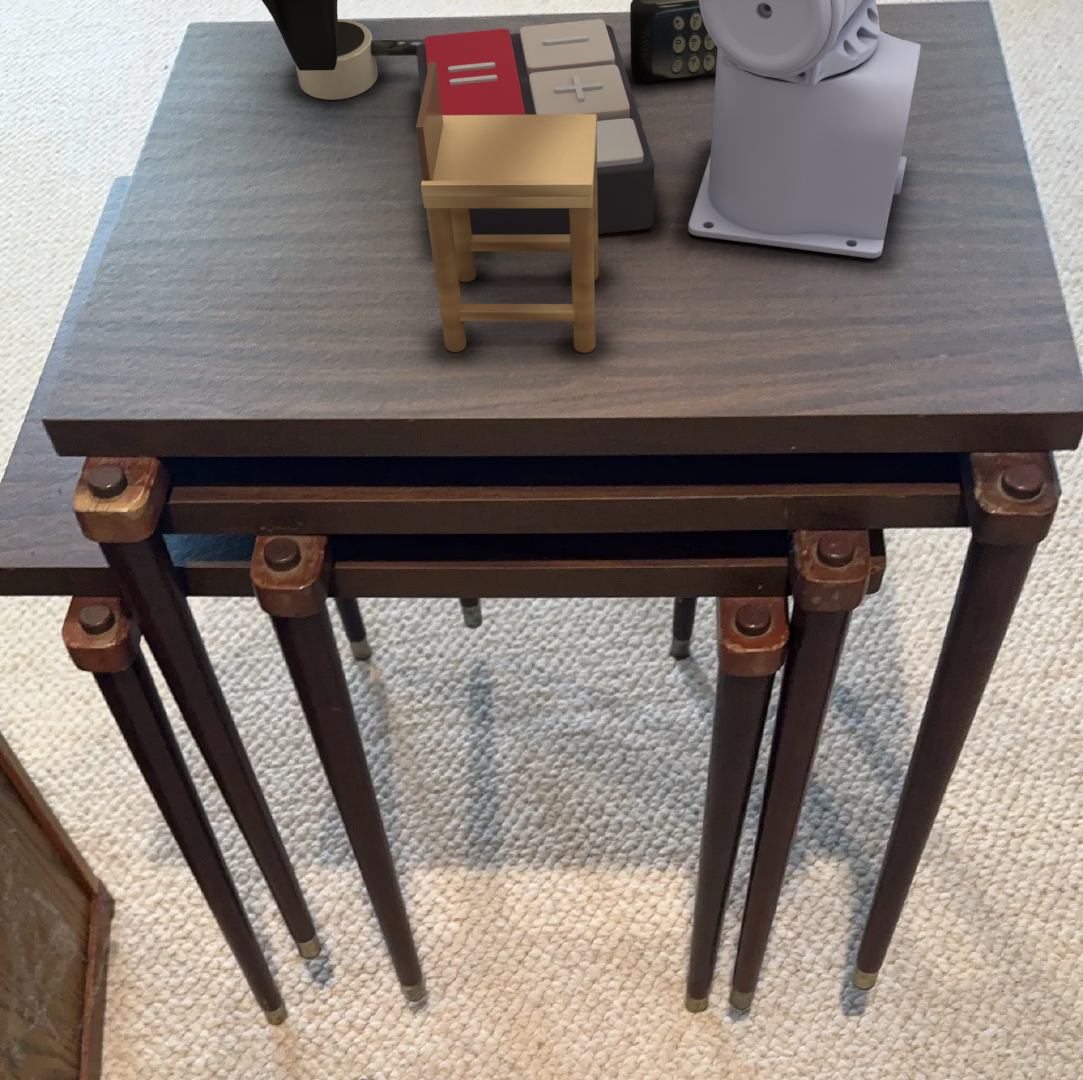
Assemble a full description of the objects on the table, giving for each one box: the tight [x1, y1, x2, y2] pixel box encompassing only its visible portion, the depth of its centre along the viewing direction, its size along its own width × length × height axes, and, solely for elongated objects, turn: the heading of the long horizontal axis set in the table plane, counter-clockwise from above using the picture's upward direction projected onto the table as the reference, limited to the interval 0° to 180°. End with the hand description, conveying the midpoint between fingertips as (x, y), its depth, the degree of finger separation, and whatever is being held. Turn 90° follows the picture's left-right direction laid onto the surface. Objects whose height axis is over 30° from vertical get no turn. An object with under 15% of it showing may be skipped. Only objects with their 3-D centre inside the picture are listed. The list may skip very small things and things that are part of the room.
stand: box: [425, 134, 600, 354], centre depth 58 cm, size 7×6×8 cm
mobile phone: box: [629, 0, 888, 82], centre depth 72 cm, size 5×3×15 cm
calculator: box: [416, 18, 655, 235], centre depth 67 cm, size 11×4×15 cm
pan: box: [294, 19, 425, 101], centre depth 74 cm, size 8×5×2 cm, turn 87°
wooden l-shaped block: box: [415, 62, 597, 210], centre depth 54 cm, size 7×6×4 cm
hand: (329, 30), depth 72 cm, fingers open, 7 cm apart
